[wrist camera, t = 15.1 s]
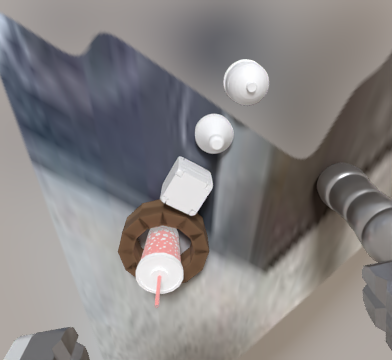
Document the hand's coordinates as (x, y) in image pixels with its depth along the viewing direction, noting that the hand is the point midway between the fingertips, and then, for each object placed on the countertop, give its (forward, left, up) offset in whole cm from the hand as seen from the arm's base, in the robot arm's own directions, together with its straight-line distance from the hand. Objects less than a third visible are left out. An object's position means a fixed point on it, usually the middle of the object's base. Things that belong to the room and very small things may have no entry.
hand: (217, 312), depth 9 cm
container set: (-2, +5, -35) cm, 35 cm away
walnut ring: (+9, +19, -34) cm, 40 cm away
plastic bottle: (-17, +16, -34) cm, 41 cm away
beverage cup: (+9, +19, -34) cm, 40 cm away
